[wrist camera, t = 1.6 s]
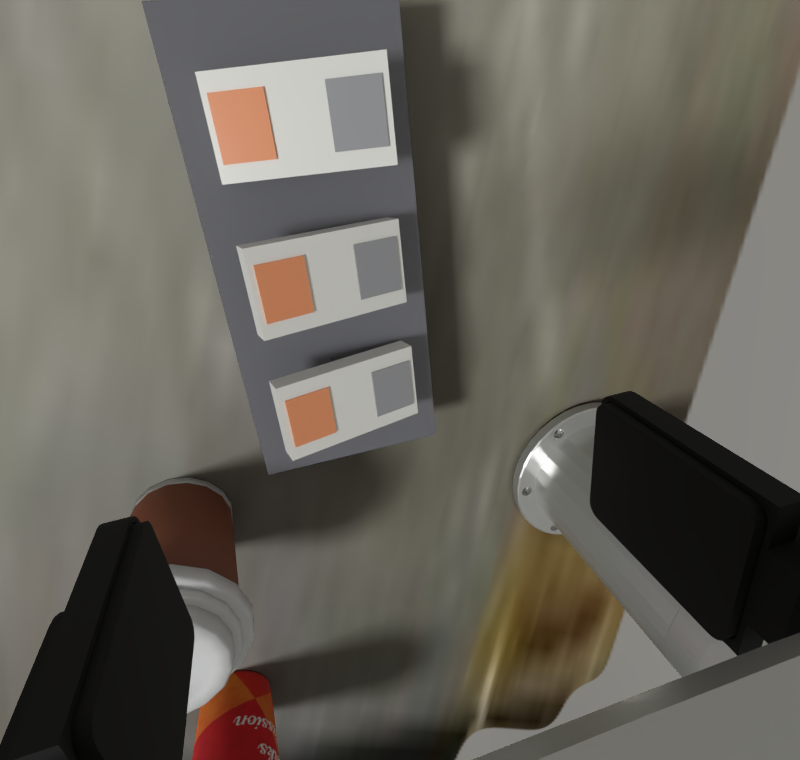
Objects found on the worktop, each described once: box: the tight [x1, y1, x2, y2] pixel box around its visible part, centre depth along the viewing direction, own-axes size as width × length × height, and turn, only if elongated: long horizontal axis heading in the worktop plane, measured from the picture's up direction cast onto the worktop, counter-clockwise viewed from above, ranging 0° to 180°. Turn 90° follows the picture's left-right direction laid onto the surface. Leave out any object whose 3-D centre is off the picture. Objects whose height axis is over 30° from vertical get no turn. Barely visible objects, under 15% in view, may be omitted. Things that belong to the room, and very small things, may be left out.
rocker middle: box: [236, 217, 407, 341], centre depth 25 cm, size 8×4×1 cm, turn 97°
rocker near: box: [195, 49, 398, 185], centre depth 22 cm, size 8×4×1 cm, turn 96°
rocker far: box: [269, 340, 418, 461], centre depth 28 cm, size 8×4×1 cm, turn 97°
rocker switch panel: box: [142, 0, 436, 475], centre depth 28 cm, size 11×24×4 cm, turn 6°
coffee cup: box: [130, 477, 254, 713], centre depth 29 cm, size 9×9×12 cm
